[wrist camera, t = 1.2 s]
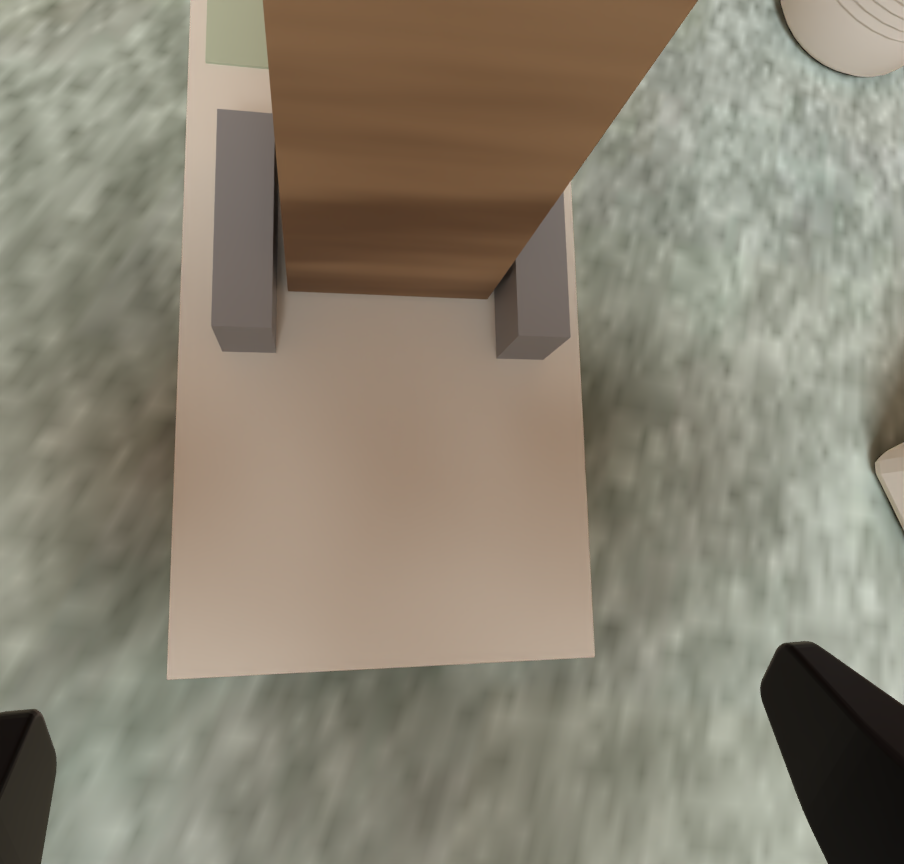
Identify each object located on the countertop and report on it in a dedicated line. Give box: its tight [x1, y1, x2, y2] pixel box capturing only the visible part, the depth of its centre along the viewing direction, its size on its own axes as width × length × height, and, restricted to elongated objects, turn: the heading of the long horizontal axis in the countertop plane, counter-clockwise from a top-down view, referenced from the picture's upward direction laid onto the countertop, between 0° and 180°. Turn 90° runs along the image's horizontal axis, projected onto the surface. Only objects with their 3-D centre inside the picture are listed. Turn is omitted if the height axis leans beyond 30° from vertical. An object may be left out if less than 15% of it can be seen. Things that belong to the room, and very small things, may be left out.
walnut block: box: [263, 0, 698, 299], centre depth 16 cm, size 4×6×13 cm
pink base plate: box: [167, 0, 595, 680], centre depth 22 cm, size 24×12×4 cm, turn 1°
